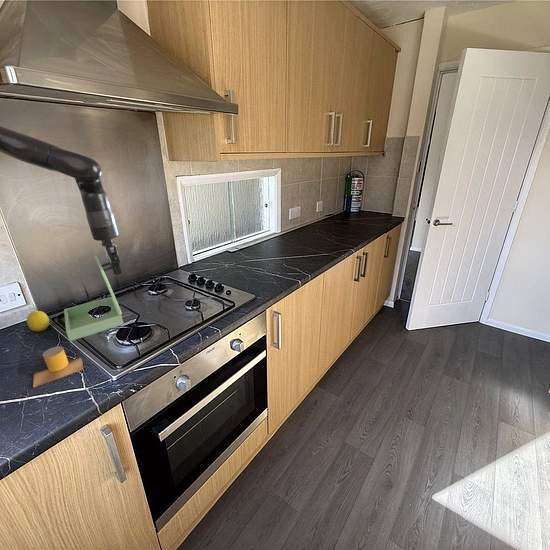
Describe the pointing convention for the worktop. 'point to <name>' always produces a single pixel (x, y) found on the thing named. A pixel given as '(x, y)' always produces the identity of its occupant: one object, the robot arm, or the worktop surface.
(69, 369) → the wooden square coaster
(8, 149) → the robot arm
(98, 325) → the box
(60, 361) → the pod
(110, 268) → the lid
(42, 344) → the worktop surface
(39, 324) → the lemon
